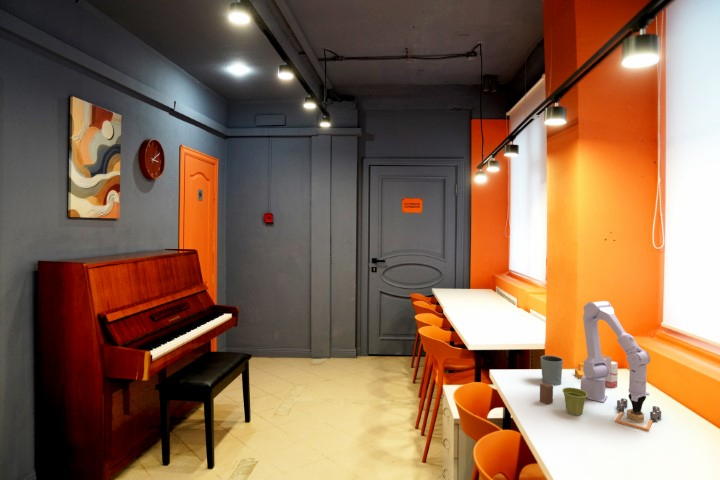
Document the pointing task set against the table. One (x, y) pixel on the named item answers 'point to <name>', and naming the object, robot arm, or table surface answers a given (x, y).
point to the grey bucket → (551, 369)
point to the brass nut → (635, 415)
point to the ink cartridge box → (611, 372)
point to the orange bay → (633, 424)
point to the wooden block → (546, 393)
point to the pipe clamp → (579, 371)
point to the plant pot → (574, 400)
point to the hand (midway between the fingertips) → (636, 412)
